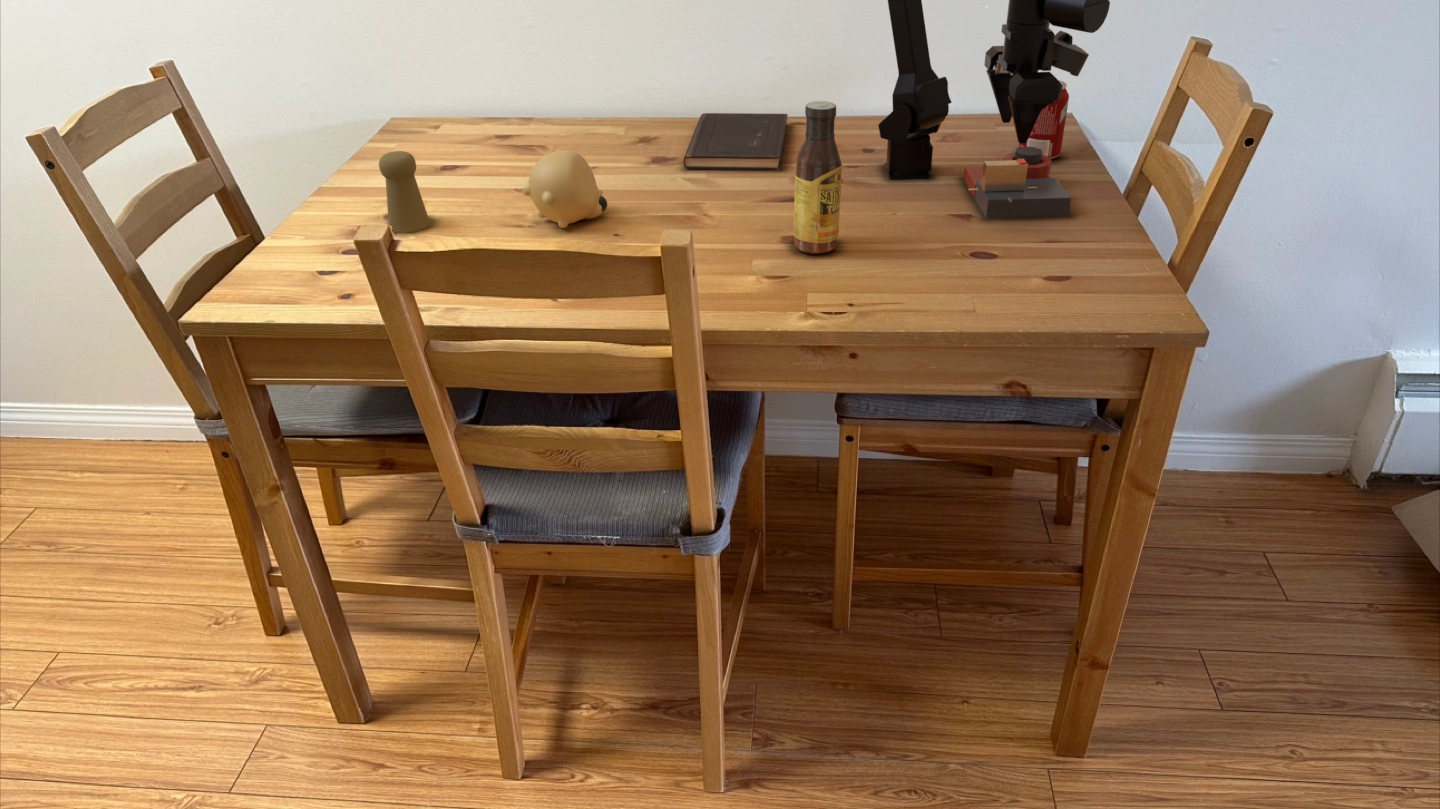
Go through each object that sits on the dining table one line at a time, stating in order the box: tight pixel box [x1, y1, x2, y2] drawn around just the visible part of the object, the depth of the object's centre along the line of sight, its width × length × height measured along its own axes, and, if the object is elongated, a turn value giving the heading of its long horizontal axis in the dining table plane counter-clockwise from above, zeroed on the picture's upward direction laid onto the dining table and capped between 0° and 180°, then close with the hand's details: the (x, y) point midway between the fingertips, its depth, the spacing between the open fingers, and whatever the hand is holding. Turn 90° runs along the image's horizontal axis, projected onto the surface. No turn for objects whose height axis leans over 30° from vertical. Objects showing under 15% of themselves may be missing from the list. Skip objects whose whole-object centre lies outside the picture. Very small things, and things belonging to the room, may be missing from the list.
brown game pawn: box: [378, 150, 431, 234], centre depth 156 cm, size 6×6×11 cm
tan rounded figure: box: [522, 149, 608, 229], centre depth 156 cm, size 10×12×11 cm
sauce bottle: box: [793, 100, 843, 255], centre depth 143 cm, size 7×6×20 cm
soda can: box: [1018, 79, 1070, 161], centre depth 173 cm, size 7×7×12 cm
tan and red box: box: [981, 159, 1028, 192], centre depth 155 cm, size 6×2×4 cm, turn 90°
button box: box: [962, 152, 1053, 198], centre depth 164 cm, size 12×8×4 cm
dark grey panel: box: [967, 177, 1072, 220], centre depth 157 cm, size 14×10×3 cm
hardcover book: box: [682, 112, 789, 171], centre depth 184 cm, size 16×23×2 cm
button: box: [1014, 147, 1042, 165], centre depth 164 cm, size 4×4×2 cm
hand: (1014, 132), depth 153 cm, fingers open, 9 cm apart
